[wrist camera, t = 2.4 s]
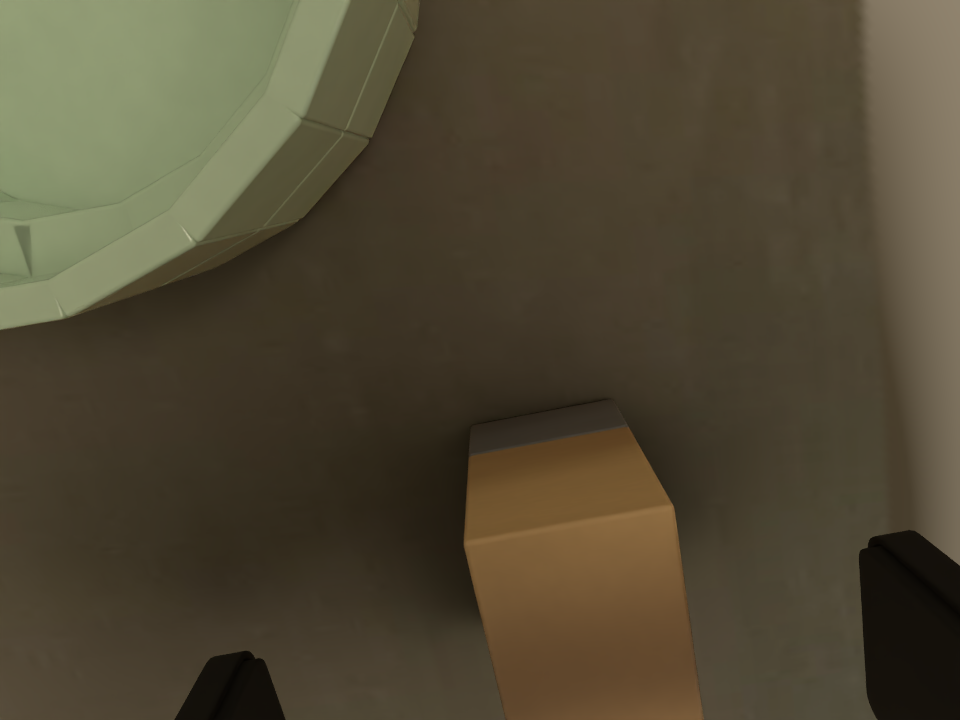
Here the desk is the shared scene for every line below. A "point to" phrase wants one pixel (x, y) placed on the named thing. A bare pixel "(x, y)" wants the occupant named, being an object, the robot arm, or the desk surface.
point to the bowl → (174, 134)
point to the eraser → (578, 570)
